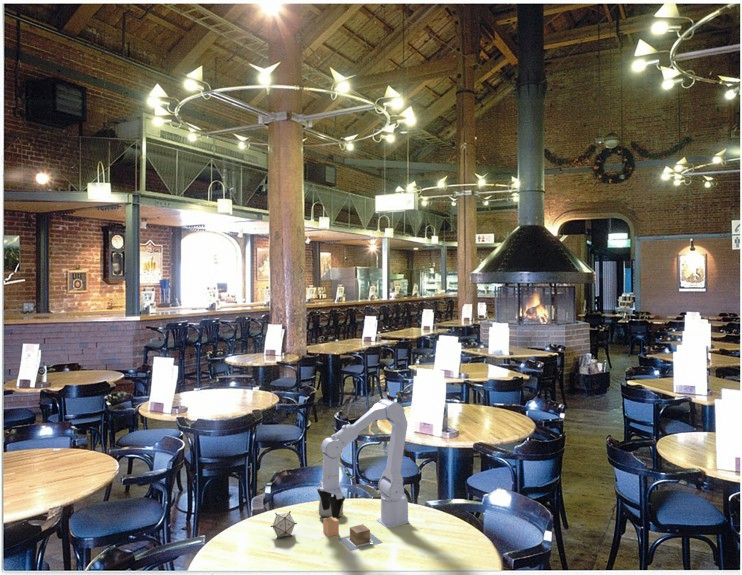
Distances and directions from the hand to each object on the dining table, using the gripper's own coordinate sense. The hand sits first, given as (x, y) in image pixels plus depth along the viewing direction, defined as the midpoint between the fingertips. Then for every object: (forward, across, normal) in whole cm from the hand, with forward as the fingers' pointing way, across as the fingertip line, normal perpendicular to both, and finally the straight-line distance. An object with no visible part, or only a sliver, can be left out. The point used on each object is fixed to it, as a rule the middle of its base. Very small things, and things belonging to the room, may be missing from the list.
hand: (330, 513), depth 188 cm
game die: (+7, -6, -15) cm, 18 cm away
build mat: (+7, +10, +6) cm, 14 cm away
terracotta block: (+7, 0, 0) cm, 7 cm away
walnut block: (+7, +10, +6) cm, 13 cm away
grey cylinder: (+7, -15, +7) cm, 18 cm away
